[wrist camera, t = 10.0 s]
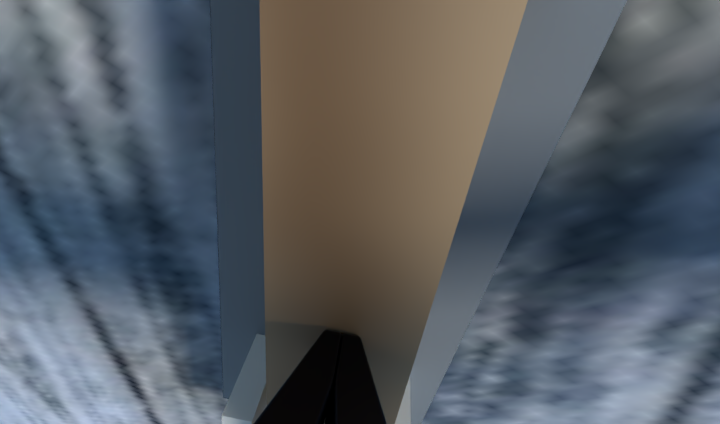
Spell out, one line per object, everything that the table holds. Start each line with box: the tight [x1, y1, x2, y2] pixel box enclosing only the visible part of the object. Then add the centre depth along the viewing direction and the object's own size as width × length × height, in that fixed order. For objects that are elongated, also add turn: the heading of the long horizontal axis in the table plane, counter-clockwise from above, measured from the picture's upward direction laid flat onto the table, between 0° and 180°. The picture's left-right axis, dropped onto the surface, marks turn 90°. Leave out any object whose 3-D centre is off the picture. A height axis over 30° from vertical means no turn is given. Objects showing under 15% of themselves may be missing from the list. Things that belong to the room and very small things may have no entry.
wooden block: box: [260, 0, 528, 424], centre depth 11 cm, size 4×20×6 cm, turn 173°
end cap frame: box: [210, 0, 627, 424], centre depth 12 cm, size 11×28×5 cm, turn 170°
